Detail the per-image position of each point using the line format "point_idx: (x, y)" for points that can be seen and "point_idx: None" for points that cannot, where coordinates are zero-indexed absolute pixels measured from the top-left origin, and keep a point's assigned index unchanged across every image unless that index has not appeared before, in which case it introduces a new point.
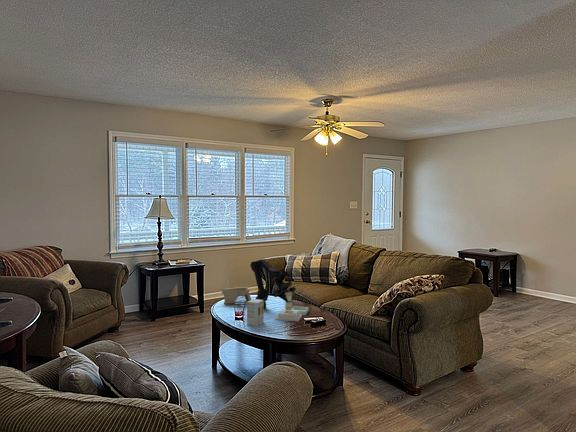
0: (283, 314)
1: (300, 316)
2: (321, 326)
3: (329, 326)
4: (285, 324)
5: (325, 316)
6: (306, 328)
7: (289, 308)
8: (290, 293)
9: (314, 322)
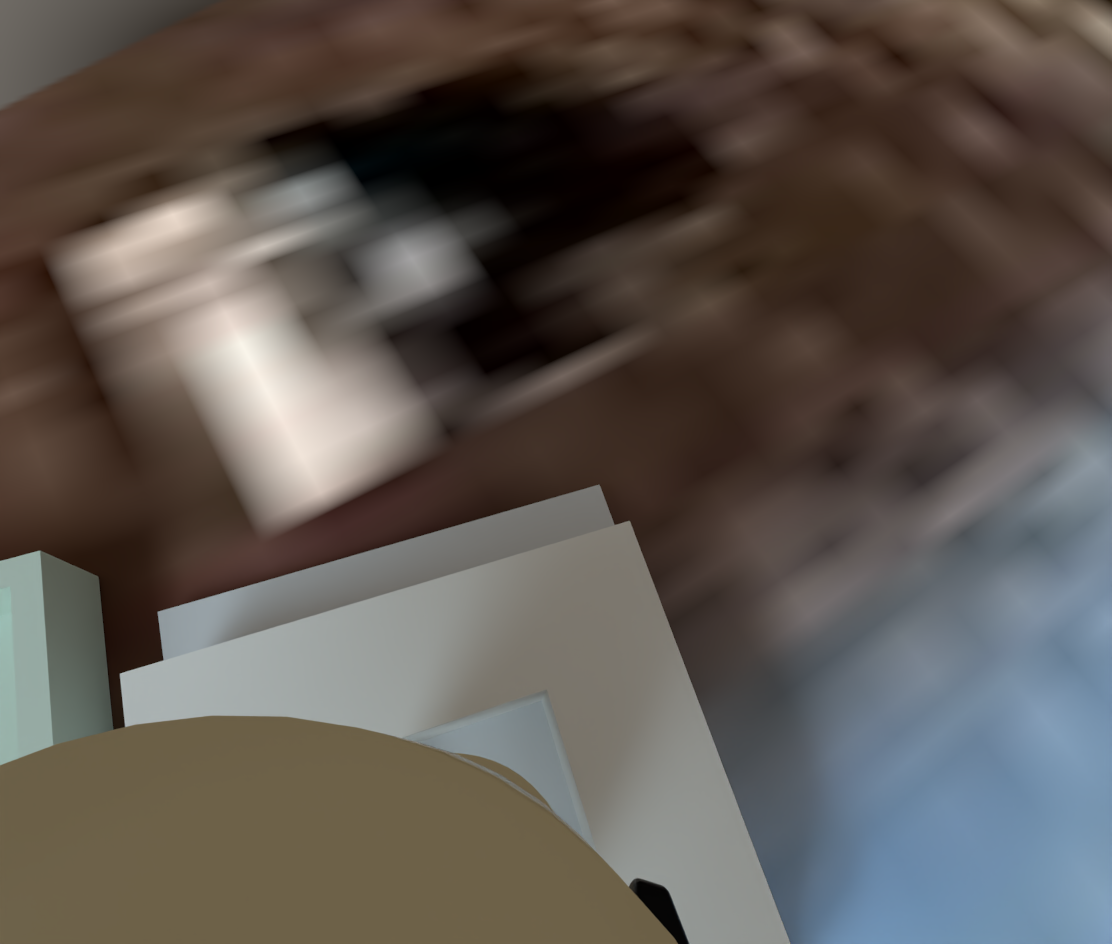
0: (760, 872)
1: (325, 573)
2: (599, 85)
3: (534, 9)
4: (913, 627)
5: (38, 210)
6: (822, 215)
7: (534, 788)
8: (446, 765)
9: (476, 232)
